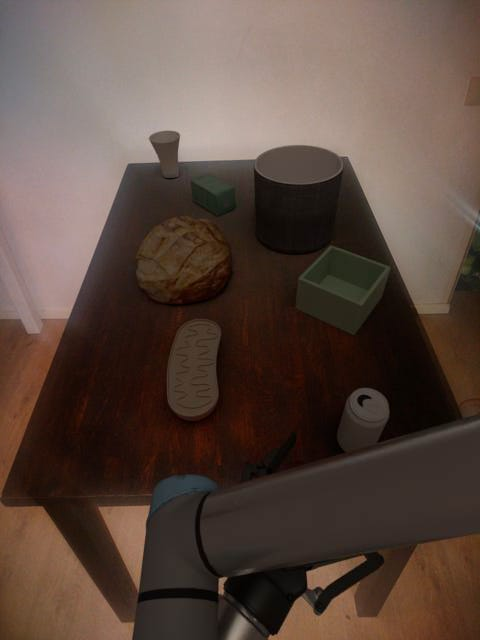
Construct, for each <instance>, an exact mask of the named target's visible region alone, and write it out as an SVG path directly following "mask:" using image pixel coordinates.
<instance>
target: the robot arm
mask: <svg viewBox="0 0 480 640" xmlns="http://www.w3.org/2000/svg"><path fill="white" fill-rule="evenodd" d="M297 437H298V433H296V432H294V431H292V432H291V433H290V434H289V436H288V437H287V439H286V440H285V441H284V443H283V445H281V447H280V448H279V449H278V448H276V447H273V448H271V449H270V451H269V452H268V453H267V455H266V456H265V457H264V459H263V460H262V461H261V462H258V463H253V462H252V461H251V460H246V461H245V462H244V463H243V467H242V473H241V478H240V482H239V483H236V484H232V485H228V486H226V487H223V488H219V485H218V484H217V482H216V481H214V480H213V479H211V478H209V477H207V476H205V475H201V474H200V475H199V474H188V473H187V474H184V475H177V474H175V475H170V476H168V477H166V478H163V479H162V480H161V481H159V482H157V484H156V485H155V486H154V488H153V490H152V494H151V500H150V504H149V508H148V509H149V510H148V513H147V514H148V515H147V517H146V521H145V534H144V536H145V537H144V544H143V553H142V559H141V560H142V562H141V568H140V576H139V577H140V578H139V587H138V594H137V602H136V608H135V616H134V623H133V630H132V631H133V632H132V637H131V640H269V637H270V636H272V637H274V636H275V635H276V636H277V635H278V634H279V632H280V630H281V628H282V627H283V624H284V623H285V621H286V619H287V617H288V615H289V613H290V611H291V610H292V608H293V606H294V604H295V603H296V601H297V600H298V599H299V598H301V597H302V598H303V599H304V600H305V602H307V604H308V605H309V606H310V607H311V608H312V611H313V613H314V615H316V616H319V617H320V616H322V615H323V614H324V612H326V610H327V608H328V607H329V605H330V604H331V602H332V601H333V600H334V599H335V598H337V597H338V596H340V595H341V594H343V593H345V592H346V591H348V590H349V589H351V588H353V587H354V586H355V585H357V584H358V583H361V581H363V580H364V579H366V578H367V577H368V576H370V575H371V574H373V573H376V571H378V570H379V569H380V568H381V567H382V566H383V565H384V564H385V558H384V556H383V555H382V554H380V553H379V552H383V551H388V550H394V549H398V548H399V549H400V548H404V547H412V546H416V545H417V546H418V545H422V544H428V543H433V542H439V541H445V540H451V539H457V538H463V537H468V536H475V535H480V412H478V413H477V414H473V415H470V416H467V417H463V418H460V419H456V420H453V421H449V422H446V423H442V424H439V425H435V426H432V427H428V428H424V429H422V430H417V431H414V432H411V433H408V434H407V433H406V434H404V435H400V436H397V437H394V438H391V439H387V440H384V441H380V442H377V443H376V444H373V445H370V446H366V447H363V448H359V449H356V450H352V451H349V452H342V453H339V454H336V455H332V456H329V457H326V458H322V459H318V460H315V461H312V462H308V463H305V464H302V465H298V466H295V467H291V468H288V469H284V470H280V471H278V469H279V468H280V466H281V465H282V463H283V462H284V461H285V459H286V458H287V456H288V455H289V454H290V452H291V450H292V449H293V448H294V446H295V445H296V443H297ZM253 477H255V478H254V479H253ZM358 557H364V558H365V561H363V562H361V563H359V564H358V565H357V566H355V567H354V568H352V569H350V570H349V571H347V572H346V573H344V574H343V575H341V576H340V577H338V578H337V579H335V580H333V581H332V582H330V583H329V584H328V585H327V586H326V587H325V588H322V586H316V587H315V588H313V589H311V588H309V586H308V575H307V574H308V572H310V571H314V570H317V569H319V568H322V567H326V566H329V565H333V564H337V563H341V562H344V561H347V560H352V559H355V558H358ZM222 578H226V579H225V581H224V582H223V587H222V589H223V594H221V593H219V588H220V584H219V583H220V579H222Z"/></svg>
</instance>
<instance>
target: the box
mask: <svg viewBox="0 0 480 640" xmlns="http://www.w3.org/2000/svg"><path fill="white" fill-rule="evenodd" d="M190 188H191V194H192V195H191V197H192V201H193V202H194V203H195V204H197V205H199V206H200V207H202V208H204V209H205V210H207V211H208V212H210V213H212V214H213V215H214V216H216V217H220V216H222V215H224V214H226V213H229V212H230V211H232V210H234V209H235V208H236V189H235V187H234V186H232V185H230V184H229V183H227V182H225V181H223V180H221V179H220V178H219V177H216V176H215V175H213V174H211V173H209V172H208V173H205V174H203V175H199V176H197V177H193V178H192V179H190ZM193 199H194V200H193ZM195 200H196V201H197V202H196V201H195ZM198 202H199V203H198ZM201 204H202V205H201Z"/></svg>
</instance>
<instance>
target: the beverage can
mask: <svg viewBox="0 0 480 640" xmlns="http://www.w3.org/2000/svg"><path fill="white" fill-rule="evenodd" d="M389 417H390V406H389V402H388V400H387V398H386V397H385V396H384V394H382V393H381V392H379V391H378V390H376V389H374V388H371V387H361V388H357V389H356V390H354V391H353V392H352V393H351V394H350V395H348V396H347V399H346V401H345V405H344V408H343V412H342V414H341V418H340V421H339V425H338V428H337V432H336V439H337V440H336V441H337V443H338V445H339V447H340V448H341V449H342V450H343V451H344V453H346V452H349V451H352V450H356V449H359V448H363V447H366V446H370V445H373V444H377V443H378V441H379V439H380V437H381V435H382V432H383V431H384V428H385V426H386V424H387V422H388V420H389Z"/></svg>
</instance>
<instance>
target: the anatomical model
mask: <svg viewBox="0 0 480 640" xmlns="http://www.w3.org/2000/svg"><path fill="white" fill-rule="evenodd" d="M221 339H222V330H221V328H220V326H219V324H217V323H216V322H215V321H213V320H210V319H208V318H195V319H191V320H189V321H186V322H185V323H183V324H182V325H181V326H180V327H179V329H178V330H177V332H176V334H175V337H174V340H173V343H172V346H171V349H170V353H169V356H168V361H167V369H166V397H167V398H166V399H167V403H168V406H169V407H170V409H171V411H172V412H173V413H174V415H176V416H177V417H178V418H180V419H182V420H184V421H188V422H197V421H201V420H203V419H205V418H207V417H208V416H210V415H211V414H212V413H213V412H214V410H215V409H216V408H217V404H218V402H219V397H220V392H219V383H218V378H217V377H218V376H217V359H218V353H219V349H220V344H221V341H222V340H221Z"/></svg>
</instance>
